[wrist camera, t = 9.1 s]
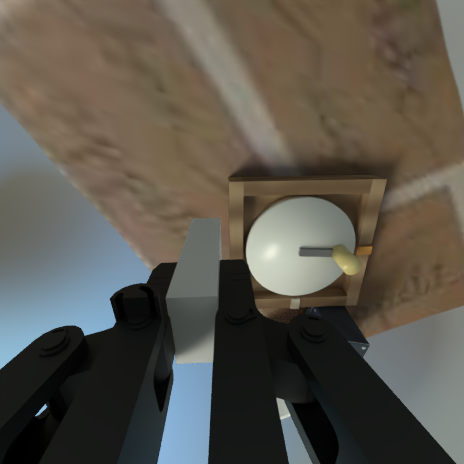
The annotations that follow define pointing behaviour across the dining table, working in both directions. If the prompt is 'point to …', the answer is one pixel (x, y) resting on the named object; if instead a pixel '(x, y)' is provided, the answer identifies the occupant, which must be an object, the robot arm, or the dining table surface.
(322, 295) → the housing
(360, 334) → the small box
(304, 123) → the dining table surface
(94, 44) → the dining table surface
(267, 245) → the dial
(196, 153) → the dining table surface
